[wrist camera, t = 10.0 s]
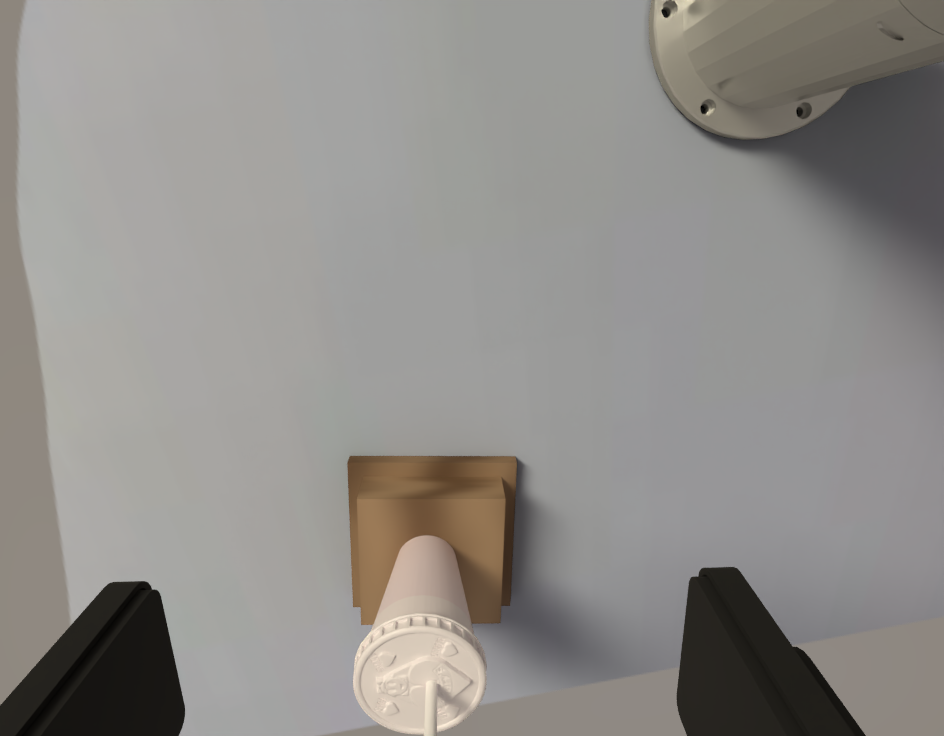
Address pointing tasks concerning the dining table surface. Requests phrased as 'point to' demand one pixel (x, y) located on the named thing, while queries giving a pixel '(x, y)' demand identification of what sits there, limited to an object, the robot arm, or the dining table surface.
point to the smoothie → (421, 646)
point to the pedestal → (433, 523)
